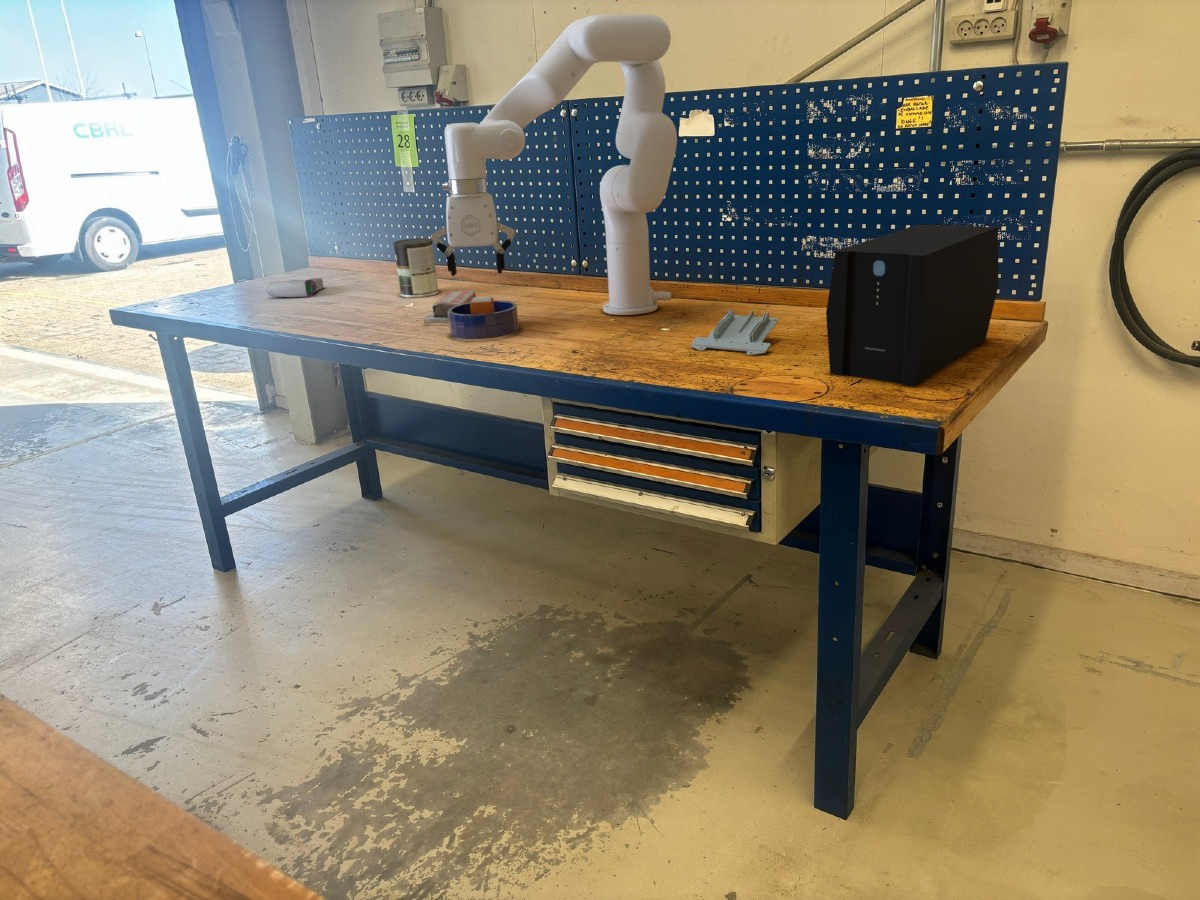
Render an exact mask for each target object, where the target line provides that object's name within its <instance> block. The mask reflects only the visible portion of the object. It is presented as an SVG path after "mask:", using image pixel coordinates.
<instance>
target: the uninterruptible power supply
mask: <svg viewBox="0 0 1200 900" xmlns="http://www.w3.org/2000/svg"><path fill="white" fill-rule="evenodd" d="M829 283H830V284H829V291H828V298H827V303H826V309H825V311H826V312H825V316H826V317H825V318H826V334H827V346H828V347H827V348H828V359H829V360H828V361H829V373H830V374H831V375H835V376H853V377H857V378H863V379H864V378H865V379H871V380H877V381H884V382H891V383H897V384H901V385H902V386H907V387H916V386H917V385H919V384H920V383H922V382H923V381H925V380H927V379H928V378H929V377H931V376H933V375H935V374H936V373H937V372H938V371H941V370H942V369H944V368H945V367H946V366H948V365H949V364H951V363H953V362H954V361H956V360H957V359H959V358H960V357H962V356H964V355H966V354H967V353H969V352H970V351H971V350H973V349H974V348H976V347H978V346H979V345H981V344H982V343H984V342H986V340H987V337H988V333H989V327H990V323H991V318H992V314H993V310H994V306H995V302H996V299H997V295H998V289H999V227H998V226H979V225H977V226H975V225H945V224H944V225H941V224H940V225H939V224H915V225H911V226H909V227H906V228H903V229H899V230H896V231H893V232H890V233H887V234H885V235H881V236H878V237H874V238H872V239H869V240H865V241H863V242H860V243H859V242H858V243H856V244H853V245H850V246H847V247H843V248H841V249H838V250H835V251H834V257H833V263H832V270H831V277H830V282H829Z"/></svg>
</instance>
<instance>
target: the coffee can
mask: <svg viewBox="0 0 1200 900" xmlns="http://www.w3.org/2000/svg"><path fill="white" fill-rule="evenodd" d="M433 243H434V241H433V240H432V238H427V237H418V238H407V239H400V240H396V241H393V242H392V245H393V250H394V258H395V263H396V270H397V277H398V282H399V283H398V284H399V290H400V297H402V298H410V299H414V298H418V299H419V298H426V297H431V296H434V295H437V294H439V286H438V277H437V270H436V269H437V268H436V262H435V254H434V253H435V252H434V246H433Z"/></svg>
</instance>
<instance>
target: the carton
mask: <svg viewBox="0 0 1200 900" xmlns="http://www.w3.org/2000/svg"><path fill="white" fill-rule="evenodd" d="M494 301H495V300H494V296H478V297H477V296H476V298H473V299H472V301H471V303H470V308H471V315H476V314H488V313H495V310H494Z"/></svg>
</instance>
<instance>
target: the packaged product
mask: <svg viewBox="0 0 1200 900" xmlns="http://www.w3.org/2000/svg"><path fill="white" fill-rule="evenodd" d="M473 298H477V293H476V292H475V291H474V290H471V289H463V290H462V289H461V290H452V291H450V292H448V293H447V294H445V295H444V296H443V297H441V298H440V299H439V300H437V301H435V302H434V303H433V304H432V307H431V309H432V312H431V313H429V314H427V316H425V317H423V322H424V323H423V324H449V319H448V310H449V309H450V308H452V307H454V306H457V305H460V304H465V303H471V301H472V299H473Z"/></svg>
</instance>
